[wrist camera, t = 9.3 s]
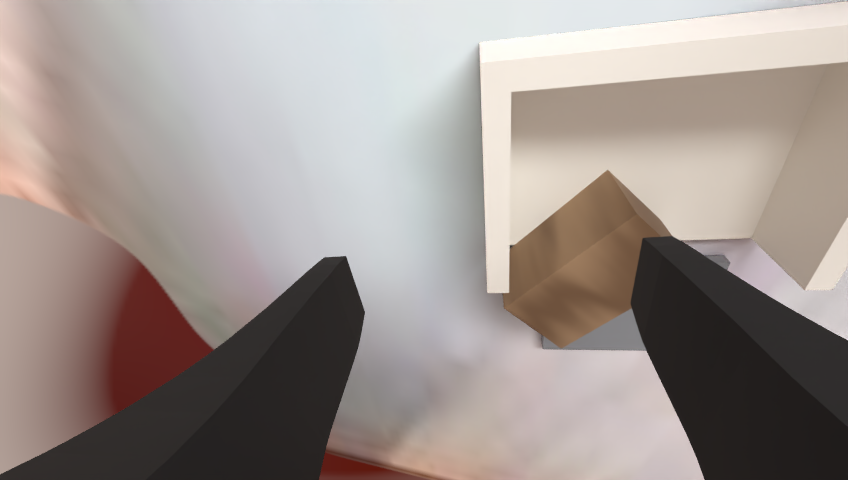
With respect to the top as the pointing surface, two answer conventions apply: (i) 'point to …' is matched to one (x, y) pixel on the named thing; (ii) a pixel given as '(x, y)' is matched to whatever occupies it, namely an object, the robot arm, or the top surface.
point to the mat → (617, 330)
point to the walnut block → (580, 262)
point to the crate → (678, 131)
